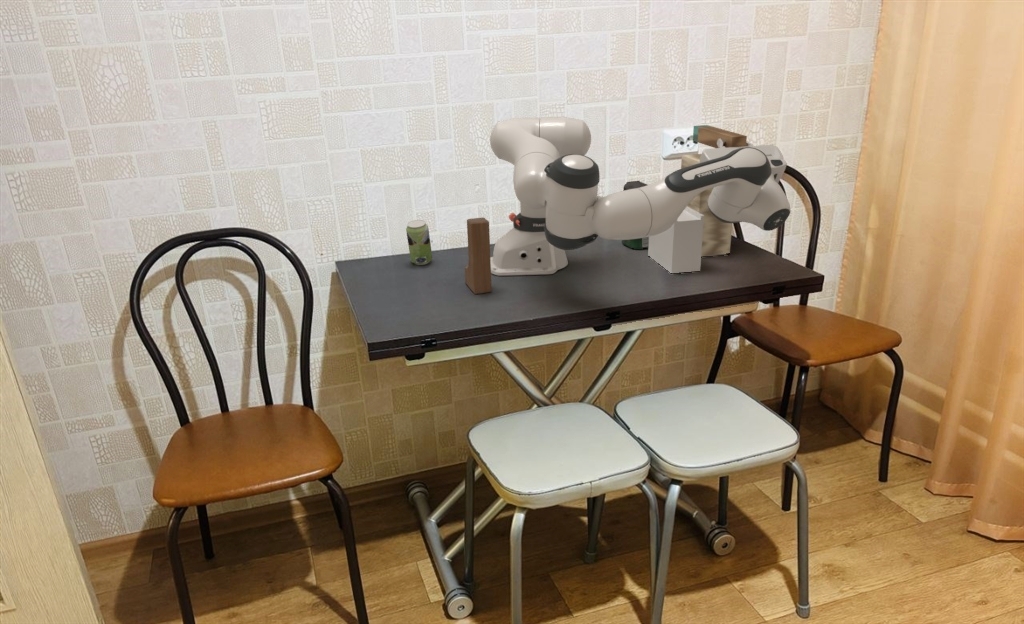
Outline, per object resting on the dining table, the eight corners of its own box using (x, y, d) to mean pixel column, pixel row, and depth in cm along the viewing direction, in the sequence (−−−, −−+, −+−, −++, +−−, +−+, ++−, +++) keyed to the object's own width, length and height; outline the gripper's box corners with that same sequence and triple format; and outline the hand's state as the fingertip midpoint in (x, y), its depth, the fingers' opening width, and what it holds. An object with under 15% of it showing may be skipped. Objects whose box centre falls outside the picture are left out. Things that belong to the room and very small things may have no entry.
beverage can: (434, 259, 210) (431, 217, 206) (429, 267, 204) (426, 224, 199) (412, 259, 211) (409, 217, 207) (406, 267, 204) (403, 224, 200)
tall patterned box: (695, 258, 206) (702, 163, 196) (676, 245, 218) (681, 155, 208) (729, 254, 208) (737, 161, 198) (708, 242, 220) (715, 152, 210)
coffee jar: (617, 242, 221) (618, 180, 214) (640, 239, 224) (643, 177, 217) (633, 251, 213) (635, 187, 206) (657, 248, 215) (660, 184, 208)
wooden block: (465, 283, 191) (461, 214, 184) (481, 281, 192) (479, 212, 186) (474, 294, 183) (471, 223, 177) (492, 292, 184) (489, 221, 178)
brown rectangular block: (730, 153, 187) (732, 136, 186) (692, 140, 207) (693, 125, 206) (745, 152, 188) (746, 136, 186) (706, 139, 208) (707, 125, 206)
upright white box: (671, 274, 194) (674, 217, 188) (648, 256, 208) (650, 203, 203) (700, 271, 195) (704, 215, 190) (674, 254, 210) (678, 201, 204)
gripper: (707, 188, 183) (688, 152, 191) (783, 182, 187) (761, 147, 195) (715, 168, 178) (695, 132, 187) (793, 163, 182) (770, 127, 190)
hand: (729, 140), depth 191 cm, fingers closed on brown rectangular block, 4 cm apart
